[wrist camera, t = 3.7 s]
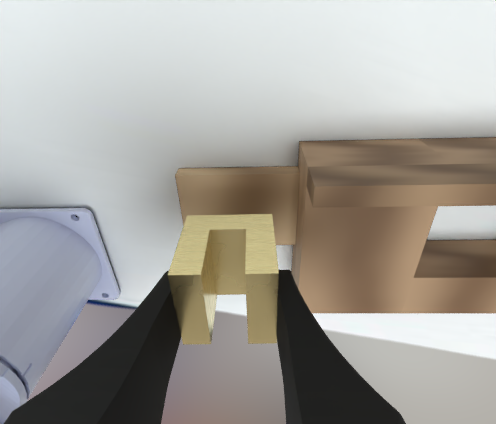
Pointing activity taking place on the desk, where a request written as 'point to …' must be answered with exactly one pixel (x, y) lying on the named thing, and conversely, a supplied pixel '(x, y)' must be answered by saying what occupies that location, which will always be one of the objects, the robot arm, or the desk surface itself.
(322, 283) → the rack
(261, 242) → the clip
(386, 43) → the desk surface
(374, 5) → the desk surface
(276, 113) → the desk surface
